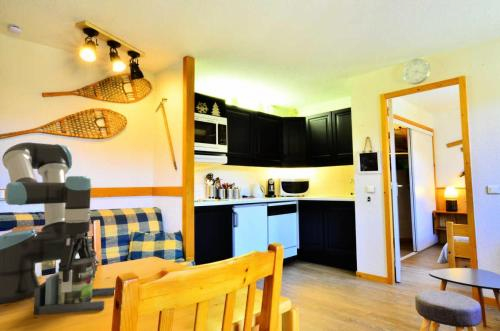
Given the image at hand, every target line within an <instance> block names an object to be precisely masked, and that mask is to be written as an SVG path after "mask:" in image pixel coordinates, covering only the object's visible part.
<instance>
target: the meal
mask: <svg viewBox="0 0 500 331" xmlns="http://www.w3.org/2000/svg"><path fill="white" fill-rule="evenodd" d="M89 249H90V256H91V258H92V259H94V262H93V282H94V280H95V279H96V277H98V274H96V272H97V271H98V266H99V259H98V257H97V251H96V250H93V248H92V247H89ZM78 258H80V257H78ZM96 264H97V265H96Z"/></svg>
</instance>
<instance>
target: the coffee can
mask: <svg viewBox="0 0 500 331" xmlns="http://www.w3.org/2000/svg"><path fill="white" fill-rule="evenodd" d="M93 262H95V261H94V259H92V258H79V257H78V258H74V261H73V264H72V267H71V270H72V291H71V292H61V285H62V272H59V281H58V304H65V303H78V302H92V301H93V297H92V289H94V288H93V286H94V285H93V282H94V281H93ZM59 264H60V262H58V265H59Z"/></svg>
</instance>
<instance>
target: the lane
mask: <svg viewBox="0 0 500 331" xmlns="http://www.w3.org/2000/svg"><path fill="white" fill-rule="evenodd" d="M114 290H115V291H116V286H115V287H101V288H100V287H99V288H93V289H92V298H97V297H108V296H109V297H110V296H115V295H114ZM45 293H46V281H45V282H43V283H41V284H40V285H39V286H38V287H36V288H35V290H34V296H33V316H43V315H53V314H55V315H56V314H67V313H81V312H91V311H104V309H105V300H95V301H94V300H92V302H78V303H65V304H51V305H45Z"/></svg>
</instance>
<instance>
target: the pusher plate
mask: <svg viewBox="0 0 500 331" xmlns="http://www.w3.org/2000/svg"><path fill="white" fill-rule="evenodd" d="M58 281H59V271H58V270H57V272H55V273H53V274H51V275H50V276H48V277H47V278H45V282H46V293H45V305H51V304H58Z"/></svg>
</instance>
